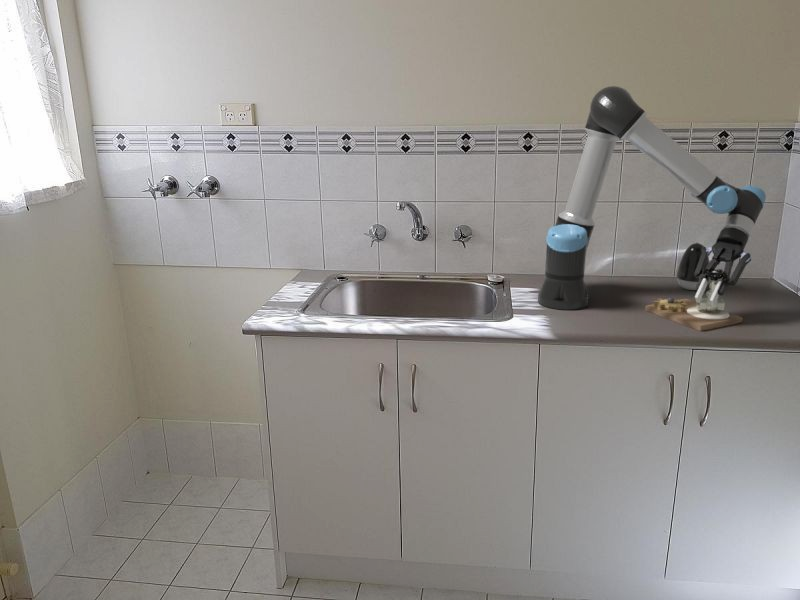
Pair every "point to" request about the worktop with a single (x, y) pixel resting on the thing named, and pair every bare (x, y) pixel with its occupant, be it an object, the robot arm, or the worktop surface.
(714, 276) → the valve
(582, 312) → the worktop surface
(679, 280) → the black egg-shaped capsule
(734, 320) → the board
